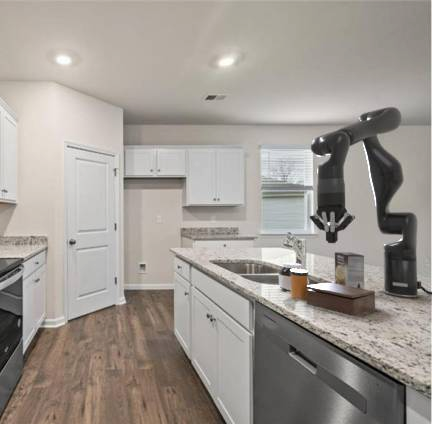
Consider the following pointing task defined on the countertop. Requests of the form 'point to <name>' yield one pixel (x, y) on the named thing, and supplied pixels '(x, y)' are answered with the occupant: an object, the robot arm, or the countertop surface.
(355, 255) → the coffee box
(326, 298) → the chest
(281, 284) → the spread jar
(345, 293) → the chest lid
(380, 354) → the countertop surface
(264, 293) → the countertop surface
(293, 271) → the jar
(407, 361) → the countertop surface
